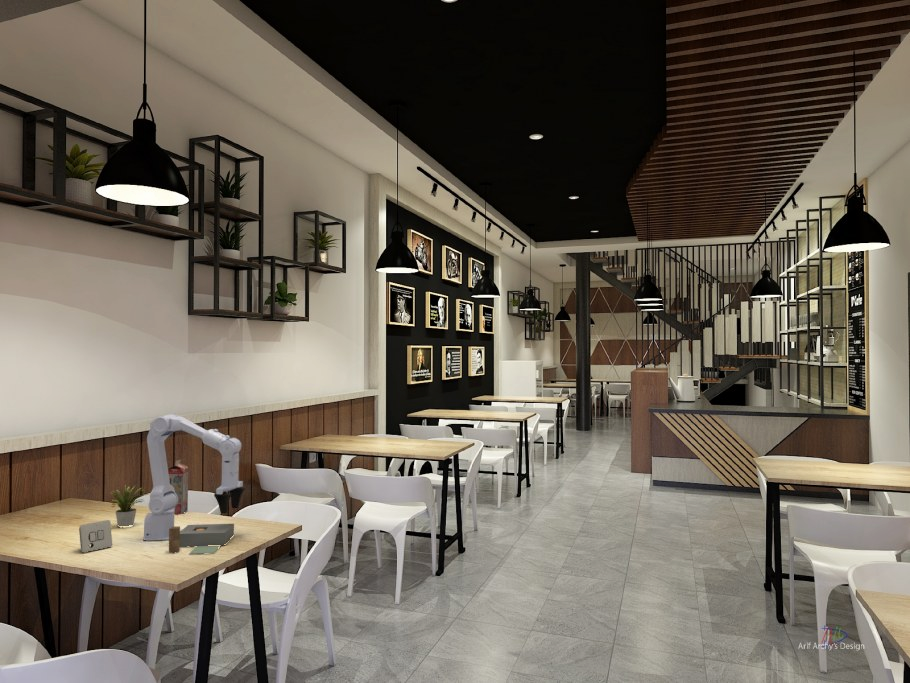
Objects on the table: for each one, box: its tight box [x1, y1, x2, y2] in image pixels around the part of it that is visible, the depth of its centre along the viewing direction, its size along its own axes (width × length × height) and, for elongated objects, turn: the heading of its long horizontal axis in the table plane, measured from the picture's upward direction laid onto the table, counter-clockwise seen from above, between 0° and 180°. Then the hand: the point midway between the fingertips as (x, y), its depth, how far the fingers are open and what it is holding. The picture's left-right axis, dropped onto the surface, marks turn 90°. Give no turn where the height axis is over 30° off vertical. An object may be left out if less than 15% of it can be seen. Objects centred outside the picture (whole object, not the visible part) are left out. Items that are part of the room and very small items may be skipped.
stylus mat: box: [188, 546, 219, 555], centre depth 202 cm, size 8×8×1 cm
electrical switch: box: [78, 519, 113, 553], centre depth 204 cm, size 9×5×9 cm, turn 141°
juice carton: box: [168, 458, 189, 515], centre depth 255 cm, size 7×7×22 cm
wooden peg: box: [168, 525, 181, 554], centre depth 201 cm, size 3×3×8 cm
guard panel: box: [180, 523, 235, 548], centre depth 212 cm, size 16×12×4 cm
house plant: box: [109, 484, 149, 526], centre depth 231 cm, size 14×14×16 cm
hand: (229, 510), depth 217 cm, fingers open, 7 cm apart
